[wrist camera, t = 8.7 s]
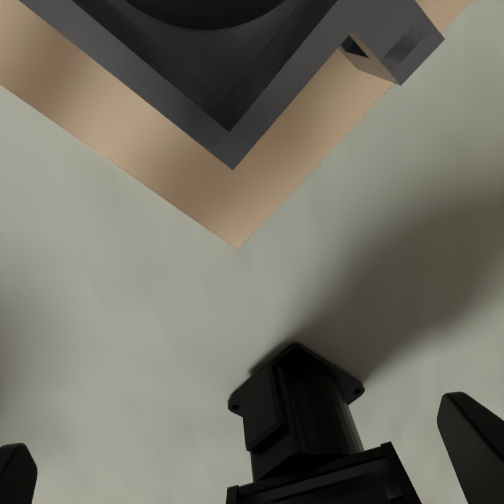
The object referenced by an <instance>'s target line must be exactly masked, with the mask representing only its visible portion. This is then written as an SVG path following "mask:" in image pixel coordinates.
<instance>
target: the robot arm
mask: <svg viewBox="0 0 504 504" xmlns="http://www.w3.org/2000/svg"><path fill="white" fill-rule="evenodd" d="M294 351H298V352H295V353H293V352H294ZM364 391H365V389H364V386H363V384H362V383H361V382H360V381H358V380H357V379H355V378H354V377H352V376H350V375H349V374H347V373H346V372H344V371H342V370H341V369H339V368H338V367H336V366H334V365H333V364H331V363H330V362H328V361H327V360H325V359H323V358H322V357H320V356H319V355H317V354H315V353H314V352H312V351H311V350H309V349H308V348H306V347H304V346H303V345H301V344H299V343H293V344H291V345H289V346H288V347H287V348H286V349H285V350H283V351H282V352H281V353H280V354H279V355H278V356H277V357H276V358H274V359H273V360H272V361H271V362H270V363H269V364H268V365H267V366H265V367H264V368H263V369H262V370H261V371H260V372H259V373H258V374H257V375H255V376H254V377H253V378H252V379H251V380H250V381H249V382H248V383H246V384H245V385H244V386H243V387H242V388H241V389H240V390H239V391H237V392H236V393H235V394H234V395H233V396H232V397H231V398H230V399H229V400H228V409H229V410H230V411H231V412H233V413H235V414H237V415H239V416H241V417H243V424H244V435H245V446H246V450H247V451H249V452H250V455H251V465H252V475H253V483H249V484H246V485H242V486H238V485H235V486H232V487H228V488H227V498H226V504H422V503H421V501H420V499H419V497H418V495H417V493H416V491H415V489H414V487H413V485H412V483H411V481H410V479H409V477H408V475H407V473H406V471H405V469H404V467H403V465H402V463H401V461H400V459H399V457H398V455H397V453H396V451H395V449H394V447H393V445H392V443H391V441H390V442H387V443H383V444H380V445H381V446H380V447H376V448H373V449H369V450H366V451H364V448H363V445H362V443H361V440H360V437H359V434H358V432H357V429H356V426H355V423H354V421H353V418H352V415H351V412H350V410H349V407H348V405H349V404H351V403H352V402H353V401H354V400H356V399H357V398H358V397H360V396H361V395H362V394H363V393H364ZM437 425H438V429H439V431H440V434H441V437H442V439H443V442H444V444H445V447H446V449H447V452H448V454H449V457H450V460H451V462H452V465H453V467H454V470H455V472H456V475H457V478H458V480H459V483H460V485H461V488H462V490H463V493H464V495H465V497H466V500H467V502H468V504H504V420H502V419H501V418H499V417H498V416H497V415H495V414H494V413H492V412H491V411H490V410H488V409H487V408H485V407H484V406H483V405H481V404H480V403H478V402H477V401H476V400H474V399H473V398H471V397H470V396H469V395H467V394H466V393H463V392H452V393H445V394H444V395H443V396H442V399H441V403H440V407H439V411H438V416H437ZM36 481H37V466H36V464H35V462H34V460H33V458H32V456H31V454H30V452H29V450H28V448H27V446H26V445H25V444H23V443H15V444H7V445H4V446H2V447H0V504H32V499H33V495H34V490H35V485H36Z"/></svg>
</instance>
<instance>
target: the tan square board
mask: <svg viewBox="0 0 504 504" xmlns="http://www.w3.org/2000/svg"><path fill="white" fill-rule="evenodd" d="M415 1H416V2H417V3H418V5H419V6H420V7H421V9H422V10H423V11H424V13H425V14H426V15H427V16H428V18H429V19H430V20H431V22H432V23H433V24H434V26H435V27H436V28H437V30H438V31H439V32H440V33H442V32H443V31H444V30H445V29H446V27H447V26H448V25H449V24H450V23H451V22H452V21H453V20H454V19H455V18H456V17H457V16H458V15H459V14H460V13H461V11H462V10H463V9H464V8H465V7H466V6H467V5H468V4H469V3H470V2H471V1H472V0H415ZM393 84H394V83H393V82H390V81H387V80H384V79H382V78H379V77H376V76H373V75H371V74H368V73H365V72H363V71H360V70H357V69H356V68H355V66H354V65H353V64H352V63H351V62H350V61H349V60H348V59H347V58H346V57H345V56H344V54H343V53H342V52H341V51H340V50H339V49H338V48H337V49H336V51H335V52H334V53H333V54H332V55H331V56H330V58H329V59H328V60H327V61H326V62H325V63H324V65H323V66H322V67H321V68H320V69H319V70H318V72H317V73H316V74H315V75H314V76H313V78H312V79H311V80H310V81H309V82H308V83H307V85H306V86H305V87H304V88H303V89H302V90H301V92H300V93H299V94H298V95H297V96H296V97H295V99H294V100H293V101H292V102H291V103H290V104H289V106H288V107H287V108H286V109H285V110H284V111H283V113H282V114H281V115H280V116H279V117H278V118H277V120H276V121H275V122H274V123H273V124H272V125H271V127H270V128H269V129H268V130H267V131H266V132H265V134H264V135H263V136H262V137H261V138H260V139H259V141H258V142H257V143H256V144H255V145H254V146H253V148H252V149H251V150H250V151H249V152H248V153H247V155H246V156H245V157H244V158H243V159H242V160H241V162H240V163H239V164H238V165H237V166H236V167H235V169H234V170H231V169H230V168H229V167H228V166H226V165H225V164H224V163H223V162H221V161H220V160H219V159H218V158H216V157H215V156H214V155H213V154H211V153H210V152H209V151H208V150H206V149H205V148H204V147H202V146H201V145H200V144H199V143H197V142H196V141H195V140H194V139H192V138H191V137H190V136H189V135H187V134H186V133H185V132H184V131H182V130H181V129H180V128H179V127H177V126H176V125H175V124H174V123H172V122H171V121H170V120H169V119H167V118H166V117H165V116H163V115H162V114H161V113H160V112H158V111H157V110H156V109H155V108H153V107H152V106H151V105H150V104H148V103H147V102H146V101H145V100H143V99H142V98H141V97H140V96H138V95H137V94H136V93H135V92H133V91H132V90H131V89H130V88H128V87H127V86H126V85H124V84H123V83H122V82H121V81H119V80H118V79H117V78H116V77H114V76H113V75H112V74H111V73H109V72H108V71H107V70H106V69H104V68H103V67H102V66H101V65H99V64H98V63H97V62H96V61H94V60H93V59H92V58H91V57H89V56H88V55H87V54H85V53H84V52H83V51H82V50H80V49H79V48H78V47H77V46H75V45H74V44H73V43H72V42H70V41H69V40H68V39H67V38H65V37H64V36H63V35H62V34H60V33H59V32H58V31H57V30H55V29H54V28H53V27H52V26H50V25H49V24H48V23H46V22H45V21H44V20H43V19H41V18H40V17H39V16H38V15H36V14H35V13H34V12H33V11H31V10H30V9H29V8H28V7H26V6H25V5H24V4H23V3H21V2H20V1H19V0H0V85H2V86H3V87H5V88H6V89H8V90H9V91H10V92H12V93H13V94H15V95H16V96H18V97H19V98H20V99H22V100H23V101H25V102H26V103H28V104H29V105H31V106H32V107H33V108H35V109H36V110H38V111H39V112H41V113H42V114H43V115H45V116H46V117H48V118H49V119H51V120H52V121H53V122H55V123H56V124H58V125H59V126H61V127H62V128H63V129H65V130H66V131H68V132H69V133H71V134H72V135H73V136H75V137H76V138H78V139H79V140H81V141H82V142H83V143H85V144H86V145H88V146H89V147H91V148H92V149H93V150H95V151H96V152H98V153H99V154H101V155H102V156H103V157H105V158H106V159H108V160H109V161H111V162H112V163H113V164H115V165H116V166H118V167H119V168H121V169H122V170H124V171H125V172H126V173H128V174H129V175H131V176H132V177H134V178H135V179H136V180H138V181H139V182H141V183H142V184H144V185H145V186H146V187H148V188H149V189H151V190H152V191H154V192H155V193H156V194H158V195H159V196H161V197H162V198H164V199H165V200H166V201H168V202H169V203H171V204H172V205H174V206H175V207H176V208H178V209H179V210H181V211H182V212H184V213H185V214H186V215H188V216H189V217H191V218H192V219H194V220H195V221H196V222H198V223H199V224H201V225H202V226H204V227H205V228H206V229H208V230H209V231H211V232H212V233H214V234H215V235H216V236H218V237H219V238H221V239H222V240H224V241H225V242H227V243H228V244H229V245H231V246H232V247H234V248H235V249H237V250H238V249H239V248H240V247H241V246H242V245H243V244H244V242H245V241H246V240H247V239H248V238H249V237H250V236H251V235H252V234H253V233H254V232H255V231H256V230H257V229H258V228H259V226H260V225H261V224H262V223H263V222H264V221H265V220H266V219H267V218H268V217H269V216H270V215H271V214H272V213H273V212H274V211H275V209H276V208H277V207H278V206H279V205H280V204H281V203H282V202H283V201H284V200H285V199H286V198H287V197H288V196H289V195H290V193H291V192H292V191H293V190H294V189H295V188H296V187H297V186H298V185H299V184H300V183H301V182H302V181H303V180H304V179H305V178H306V176H307V175H308V174H309V173H310V172H311V171H312V170H313V169H314V168H315V167H316V166H317V165H318V164H319V163H320V162H321V160H322V159H323V158H324V157H325V156H326V155H327V154H328V153H329V152H330V151H331V150H332V149H333V148H334V147H335V146H336V145H337V143H338V142H339V141H340V140H341V139H342V138H343V137H344V136H345V135H346V134H347V133H348V132H349V131H350V130H351V129H352V128H353V126H354V125H355V124H356V123H357V122H358V121H359V120H360V119H361V118H362V117H363V116H364V115H365V114H366V113H367V112H368V110H369V109H370V108H371V107H372V106H373V105H374V104H375V103H376V102H377V101H378V100H379V99H380V98H381V97H382V96H383V95H384V93H385V92H386V91H387V90H388V89H389V88H390V87H391V86H392V85H393Z"/></svg>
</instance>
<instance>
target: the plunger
mask: <svg viewBox="0 0 504 504" xmlns="http://www.w3.org/2000/svg"><path fill="white" fill-rule="evenodd" d="M125 1H126V2H127V3H129V4H130V5H132V6H133V7H135V8H137V9H138V10H140V11H142V12H143V13H145V14H147V15H149V16H151V17H153V18H156V19H158V20H160V21H162V22H165V23H168V24H172V25H175V26H179V27H183V28H190V29H197V30H217V29H224V28H230V27H235V26H238V25H241V24H244V23H248V22H250V21H252V20H255V19H257V18H259V17H261V16H263V15H265V14H267V13H268V12H270V11H271V10H273V9H274V8H276V7H277V6H279V5H280V4H281V3H282V2H284V1H285V0H125Z"/></svg>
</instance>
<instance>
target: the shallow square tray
mask: <svg viewBox="0 0 504 504" xmlns="http://www.w3.org/2000/svg"><path fill="white" fill-rule="evenodd" d="M19 1H20V2H21V3H23V4H24V5H25V6H26V7H28V8H29V9H30V10H31V11H33V12H34V13H35V14H36V15H38V16H39V17H40V18H41V19H43V20H44V21H45V22H46V23H48V24H49V25H50V26H52V27H53V28H54V29H55V30H57V31H58V32H59V33H60V34H62V35H63V36H64V37H65V38H67V39H68V40H69V41H70V42H72V43H73V44H74V45H75V46H77V47H78V48H79V49H80V50H82V51H83V52H84V53H85V54H87V55H88V56H89V57H91V58H92V59H93V60H94V61H96V62H97V63H98V64H99V65H101V66H102V67H103V68H104V69H106V70H107V71H108V72H109V73H111V74H112V75H113V76H114V77H116V78H117V79H118V80H119V81H121V82H122V83H123V84H124V85H126V86H127V87H128V88H130V89H131V90H132V91H133V92H135V93H136V94H137V95H138V96H140V97H141V98H142V99H143V100H145V101H146V102H147V103H148V104H150V105H151V106H152V107H153V108H155V109H156V110H157V111H158V112H160V113H161V114H162V115H163V116H165V117H166V118H167V119H169V120H170V121H171V122H172V123H174V124H175V125H176V126H177V127H179V128H180V129H181V130H182V131H184V132H185V133H186V134H187V135H189V136H190V137H191V138H192V139H194V140H195V141H196V142H197V143H199V144H200V145H201V146H202V147H204V148H205V149H206V150H208V151H209V152H210V153H211V154H213V155H214V156H215V157H216V158H218V159H219V160H220V161H221V162H223V163H224V164H225V165H226V166H228V167H229V168H230V169H231V170H234V169H235V167H236V166H237V165H238V164H239V163H240V162H241V160H242V159H243V158H244V157H245V156H246V155H247V153H248V152H249V151H250V150H251V149H252V148H253V146H254V145H255V144H256V143H257V142H258V141H259V139H260V138H261V137H262V136H263V135H264V134H265V132H266V131H267V130H268V129H269V128H270V127H271V125H272V124H273V123H274V122H275V121H276V120H277V118H278V117H279V116H280V115H281V114H282V113H283V111H284V110H285V109H286V108H287V107H288V106H289V104H290V103H291V102H292V101H293V100H294V99H295V97H296V96H297V95H298V94H299V93H300V92H301V90H302V89H303V88H304V87H305V86H306V85H307V83H308V82H309V81H310V80H311V79H312V78H313V76H314V75H315V74H316V73H317V72H318V70H319V69H320V68H321V67H322V66H323V65H324V63H325V62H326V61H327V60H328V59H329V58H330V56H331V55H332V54H333V53H334V52H335V51H336V49H337V48H338V49H339V50H340V51H341V52H342V53H343V54H344V56H345V57H346V58H347V59H348V60H349V61H350V62H351V63H352V64H353V65H354V66H355V68H356V69H357V70H360V71H363V72H365V73H368V74H371V75H373V76H376V77H379V78H382V79H384V80H387V81H390V82H393V83H395V84H398V85H402V84H403V83H404V82H405V81H406V80H407V79H408V78H409V76H410V75H411V74H412V73H413V72H414V71H415V70H416V69H417V68H418V67H419V66H420V65H421V64H422V63H423V62H424V61H425V60H426V59H427V57H428V56H429V55H430V54H431V53H432V52H433V51H434V50H435V49H436V48H437V47H438V46H439V45H440V44H441V43H442V42H443V41H444V40H445V39H444V37H443V36H442V35H441V33H440V32H439V31H438V30H437V28H436V27H435V26H434V24H433V23H432V22H431V20H430V19H429V18H428V16H427V15H426V14H425V13H424V11H423V10H422V9H421V7H420V6H419V5H418V3H417V2H416V1H415V0H285V1H284V2H282V3H281V4H280V5H279V6H277V7H276V8H274V9H273V10H271V11H270V12H268V13H267V14H265V15H263V16H261V17H259V18H257V19H255V20H252V21H250V22H248V23H244V24H241V25H238V26H235V27H230V28H224V29H217V30H197V29H190V28H183V27H179V26H175V25H172V24H168V23H165V22H162V21H160V20H158V19H156V18H153V17H151V16H149V15H147V14H145V13H143V12H142V11H140V10H138V9H137V8H135V7H133V6H132V5H130V4H129V3H127V2H126V1H125V0H19Z"/></svg>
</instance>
